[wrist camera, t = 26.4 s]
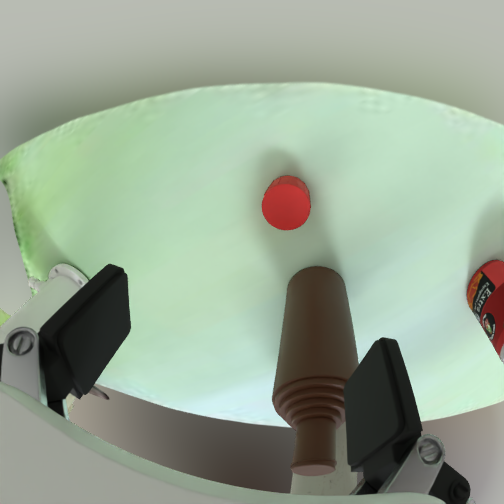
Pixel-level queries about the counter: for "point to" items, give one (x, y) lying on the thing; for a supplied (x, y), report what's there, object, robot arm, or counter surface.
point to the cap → (286, 203)
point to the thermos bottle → (334, 482)
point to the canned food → (489, 302)
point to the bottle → (315, 366)
